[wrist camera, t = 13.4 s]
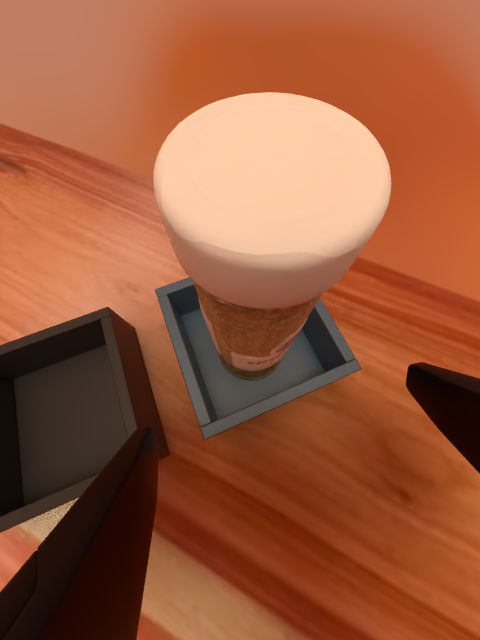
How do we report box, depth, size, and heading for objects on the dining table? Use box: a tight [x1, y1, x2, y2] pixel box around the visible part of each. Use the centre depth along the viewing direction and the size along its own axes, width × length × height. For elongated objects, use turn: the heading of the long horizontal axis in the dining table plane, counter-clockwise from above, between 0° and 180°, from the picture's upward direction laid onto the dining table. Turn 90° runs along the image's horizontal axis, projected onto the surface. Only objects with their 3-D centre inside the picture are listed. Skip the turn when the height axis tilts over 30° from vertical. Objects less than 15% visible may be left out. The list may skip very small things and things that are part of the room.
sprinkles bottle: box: [153, 92, 391, 380], centre depth 11 cm, size 5×5×13 cm
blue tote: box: [155, 277, 362, 439], centre depth 16 cm, size 9×9×4 cm
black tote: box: [0, 307, 169, 533], centre depth 14 cm, size 9×9×4 cm
